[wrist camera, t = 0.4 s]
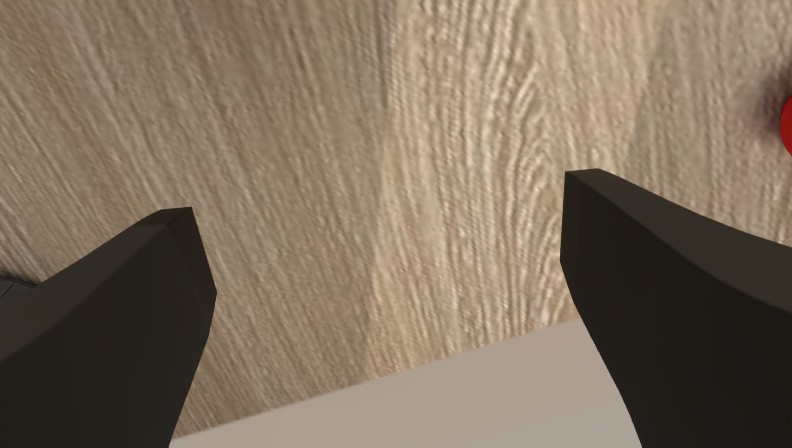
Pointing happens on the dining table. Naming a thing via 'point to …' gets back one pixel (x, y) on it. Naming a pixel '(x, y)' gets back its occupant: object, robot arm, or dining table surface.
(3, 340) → the robot arm
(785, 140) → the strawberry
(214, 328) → the dining table surface
